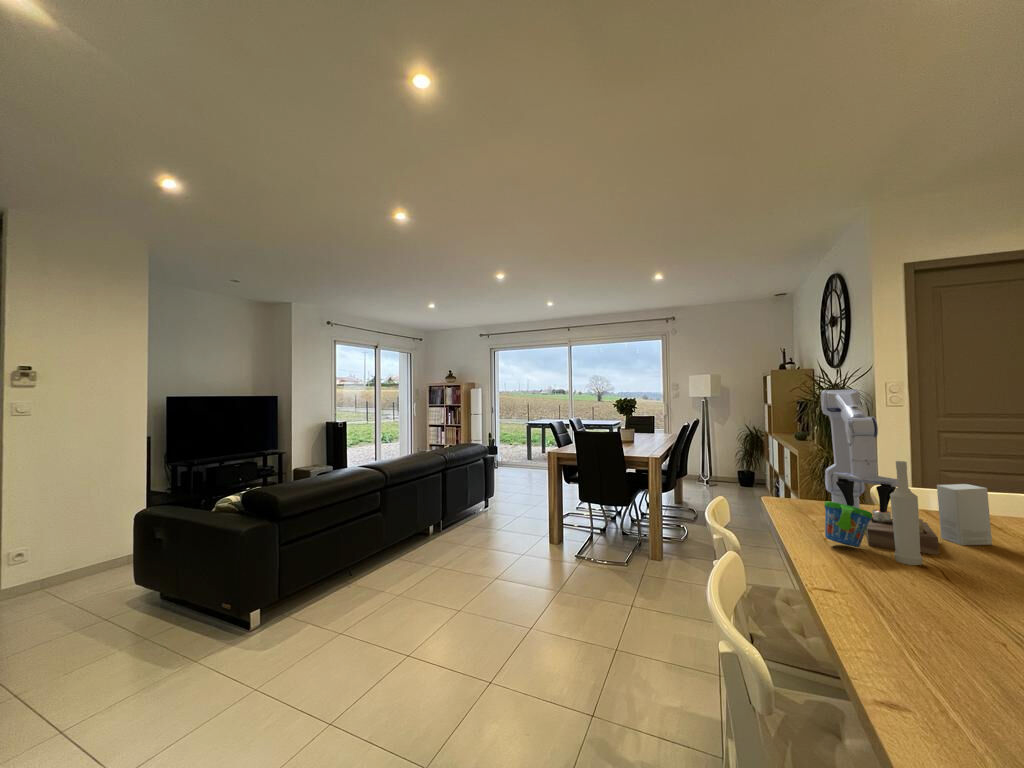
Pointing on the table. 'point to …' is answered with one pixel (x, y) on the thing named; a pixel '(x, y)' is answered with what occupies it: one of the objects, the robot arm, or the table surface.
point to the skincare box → (964, 514)
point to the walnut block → (885, 538)
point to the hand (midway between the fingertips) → (866, 508)
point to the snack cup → (845, 523)
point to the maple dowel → (921, 526)
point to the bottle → (905, 520)
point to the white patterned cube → (881, 517)
